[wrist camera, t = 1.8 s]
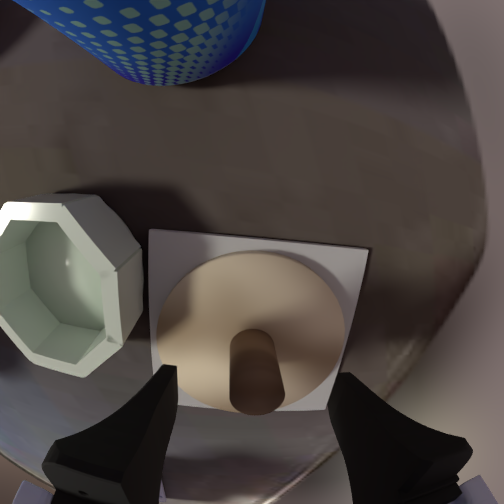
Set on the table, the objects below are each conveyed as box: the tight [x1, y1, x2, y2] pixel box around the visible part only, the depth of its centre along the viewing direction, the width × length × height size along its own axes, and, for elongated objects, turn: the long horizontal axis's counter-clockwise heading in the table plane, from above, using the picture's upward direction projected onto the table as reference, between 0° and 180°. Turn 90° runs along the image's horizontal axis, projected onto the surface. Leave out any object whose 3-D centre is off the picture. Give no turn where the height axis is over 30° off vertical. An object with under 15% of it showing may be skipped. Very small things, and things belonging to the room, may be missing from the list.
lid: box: [156, 250, 345, 415], centre depth 14 cm, size 10×10×5 cm
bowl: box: [0, 193, 144, 378], centre depth 13 cm, size 9×9×4 cm
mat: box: [148, 229, 369, 411], centre depth 17 cm, size 12×12×1 cm
